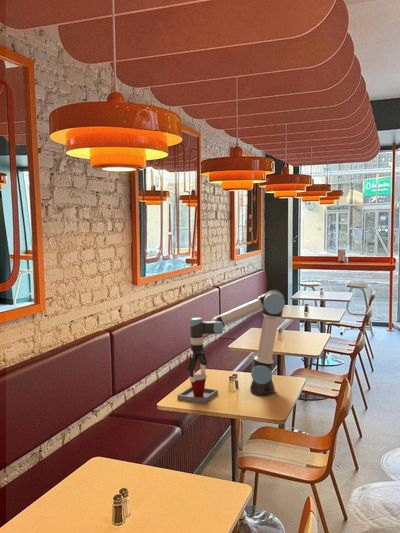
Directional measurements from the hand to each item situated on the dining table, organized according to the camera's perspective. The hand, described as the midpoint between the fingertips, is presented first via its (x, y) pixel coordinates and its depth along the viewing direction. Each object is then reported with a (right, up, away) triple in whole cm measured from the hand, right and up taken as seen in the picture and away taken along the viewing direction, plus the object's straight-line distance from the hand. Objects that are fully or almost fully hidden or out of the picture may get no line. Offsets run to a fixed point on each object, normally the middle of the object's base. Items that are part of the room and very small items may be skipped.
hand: (198, 378), depth 296 cm
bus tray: (0, -11, +1) cm, 11 cm away
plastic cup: (0, -11, +1) cm, 11 cm away
